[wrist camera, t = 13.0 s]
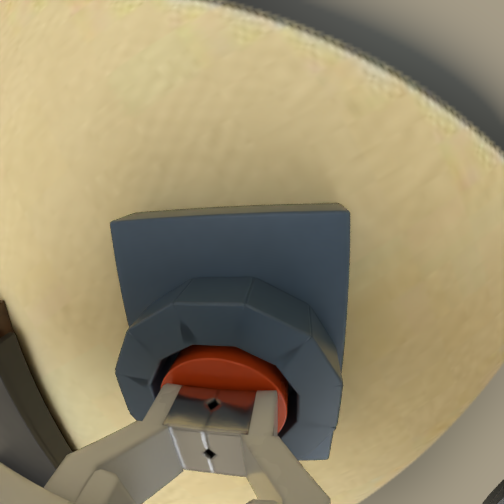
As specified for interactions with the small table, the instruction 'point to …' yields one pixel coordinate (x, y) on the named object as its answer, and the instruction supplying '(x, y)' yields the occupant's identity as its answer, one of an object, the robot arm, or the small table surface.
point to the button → (228, 372)
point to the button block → (240, 302)
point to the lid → (26, 420)
